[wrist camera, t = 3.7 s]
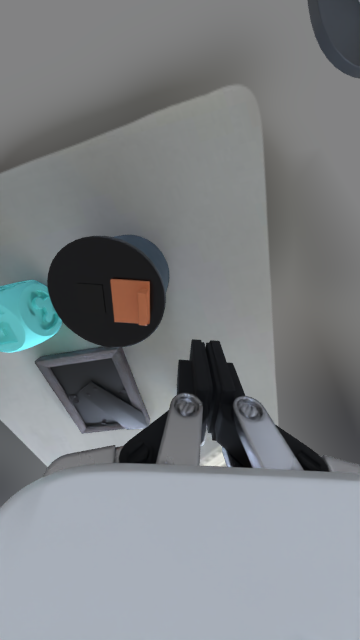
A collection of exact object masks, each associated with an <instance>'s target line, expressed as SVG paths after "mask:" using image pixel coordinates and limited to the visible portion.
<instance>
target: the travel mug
mask: <svg viewBox="0 0 360 640" xmlns="http://www.w3.org/2000/svg"><path fill="white" fill-rule="evenodd" d="M111 279H122V280H137V281H150V324H147V325H146V326H144V325H139V323H125V322H115V321H114V312H113V302H112V292H111V282H110V280H111ZM47 282H48V292H49V297H50V300H51V303H52V305H53V307H54V309H55V311H56V313H57V314H58V316H59V317H60V319H61V320H62V321H63V322H64V324H65V325H66V326H67V327H68V328H69V329H71V330H72V331H73V332H74V333H76V334H77V335H78V336H80V337H82V338H83V339H85V340H87V341H89V342H92V343H94V344H97V345H101V346H106V347H127V346H131V345H134V344H137V343H139V342H141V341H143V340H145V339H146V338H148V337H149V336H150V335H151V334H152V333H153V332H154V331H155V330H156V329H157V327H158V325H159V324H160V322H161V320H162V317H163V314H164V310H165V303H166V291H167V287H168V283H169V268H168V264H167V261H166V259H165V257H164V255H163V254H162V252H161V251H160V250H159V249H158V248H157V247H156V246H155V245H154V244H153V243H152V242H150V241H149V240H147V239H145V238H142V237H139V236H135V235H122V236H116V237H108V236H91V237H85V238H81V239H78V240H75V241H73V242H71V243H69V244H67V245H66V246H65V247H63V248H62V249H61V250H60V251H59V252H58V253H57V255H56V256H55V258H54V259H53V261H52V263H51V266H50V269H49V273H48V280H47Z"/></svg>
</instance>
